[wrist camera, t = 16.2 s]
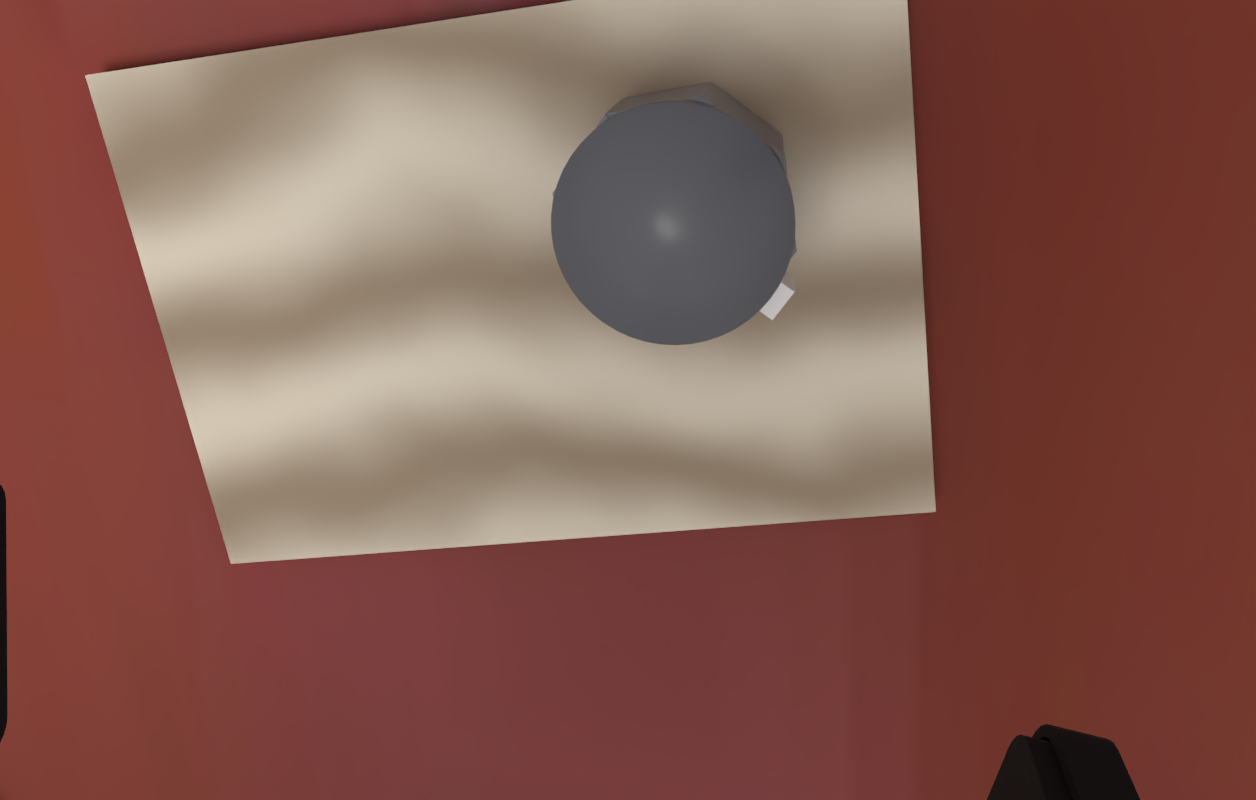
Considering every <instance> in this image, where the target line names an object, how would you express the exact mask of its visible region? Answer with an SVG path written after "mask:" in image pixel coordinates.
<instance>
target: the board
mask: <svg viewBox="0 0 1256 800" xmlns="http://www.w3.org/2000/svg"><path fill="white" fill-rule="evenodd" d="M85 77H86V80H87V83H88V87H89V90H90V93H91V97H92V100H93V103H94V107H95V110H96V113H97V117H98V120H99V123H100V127H101V130H102V133H103V137H104V140H105V144H106V147H107V150H108V154H109V157H110V160H111V164H112V167H113V170H114V174H115V177H116V180H117V184H118V187H119V190H120V194H121V197H122V200H123V204H124V207H125V211H126V214H127V217H128V221H129V224H130V227H131V231H132V234H133V237H134V241H135V244H136V247H137V251H138V254H139V257H140V261H141V264H142V267H143V271H144V274H145V278H146V281H147V284H148V288H149V291H150V294H151V298H152V301H153V304H154V308H155V311H156V314H157V318H158V321H159V324H160V328H161V331H162V334H163V338H164V341H165V345H166V348H167V351H168V355H169V358H170V361H171V365H172V368H173V371H174V375H175V378H176V381H177V385H178V388H179V391H180V395H181V398H182V401H183V405H184V408H185V412H186V415H187V418H188V422H189V425H190V428H191V432H192V435H193V438H194V442H195V445H196V448H197V452H198V455H199V458H200V462H201V465H202V468H203V472H204V475H205V478H206V482H207V485H208V489H209V492H210V495H211V499H212V502H213V505H214V509H215V512H216V515H217V519H218V522H219V525H220V529H221V532H222V535H223V539H224V542H225V545H226V549H227V552H228V556H229V559H230V562H231V564H235V563H249V562H262V561H276V560H289V559H303V558H317V557H330V556H344V555H357V554H371V553H384V552H398V551H411V550H425V549H439V548H452V547H466V546H479V545H493V544H506V543H520V542H533V541H547V540H561V539H574V538H588V537H601V536H615V535H628V534H642V533H656V532H669V531H683V530H696V529H710V528H723V527H737V526H750V525H764V524H778V523H791V522H805V521H818V520H832V519H845V518H859V517H872V516H886V515H900V514H913V513H927V512H936V507H935V489H934V471H933V453H932V435H931V417H930V399H929V381H928V363H927V345H926V327H925V309H924V291H923V273H922V255H921V237H920V219H919V201H918V183H917V165H916V147H915V129H914V112H913V94H912V76H911V58H910V40H909V22H908V4H907V0H572V1H565V2H559V3H552V4H546V5H539V6H533V7H526V8H520V9H513V10H507V11H500V12H494V13H487V14H481V15H474V16H468V17H461V18H455V19H448V20H442V21H435V22H429V23H422V24H416V25H409V26H403V27H396V28H390V29H383V30H377V31H370V32H364V33H357V34H351V35H344V36H337V37H331V38H325V39H318V40H311V41H305V42H298V43H292V44H285V45H279V46H272V47H266V48H259V49H253V50H246V51H240V52H233V53H227V54H220V55H214V56H207V57H201V58H194V59H188V60H181V61H175V62H168V63H162V64H155V65H149V66H142V67H136V68H129V69H123V70H116V71H110V72H103V73H97V74H90V75H85ZM709 82H711V83H712V84H714V85H715V86H717V87H718V88H719V89H721V90H722V91H723V92H725V93H726V94H727V95H729V96H730V97H732V98H733V99H734V100H736V101H737V102H738V103H740V104H741V105H742V106H744V107H745V108H746V109H748V110H749V111H751V112H752V113H753V114H755V115H756V116H757V117H759V118H760V119H761V120H763V121H764V122H766V123H767V124H768V125H770V126H771V127H772V128H774V129H775V130H776V131H778V132H779V133H781V134H782V136H783V144H784V151H785V158H786V166H787V173H788V181H789V184H790V187H791V191H792V196H793V201H794V209H795V224H796V226H795V237H796V248H797V252H796V253H795V254H794V255H793V257H792V258H791V259H790V262H789V265H788V268H787V271H786V272H787V273H788V274H790V275H791V276H793V277H794V289H795V292H794V294H793V295H792V296H791V297H790V299H789V300H788V301H787V302H786V304H785V305H784V306H783V307H782V309H781V310H780V311H779V313H778V314H777V315H776V316H775V318H774V319H773V320H771V319H770V318H768V317H767V316H766V315H764V314H763V313H761V312H760V311H759V312H758V313H756V314H755V315H754V316H753V317H752V318H751V319H749V320H748V321H747V322H745V323H744V324H742V325H741V326H739V327H738V328H736V329H735V330H732V331H730V332H728V333H726V334H724V335H722V336H720V337H717V338H714V339H711V340H708V341H704V342H699V343H694V344H686V345H661V344H655V343H650V342H645V341H641V340H638V339H635V338H632V337H629V336H627V335H625V334H622V333H620V332H618V331H616V330H614V329H613V328H611V327H609V326H608V325H606V324H605V323H603V322H602V321H601V320H599V319H598V318H597V317H596V316H594V315H593V314H592V313H591V312H590V311H589V310H588V309H587V308H586V307H585V306H584V305H583V304H582V303H581V302H580V301H579V299H578V298H577V297H576V295H575V294H574V293H573V292H572V290H571V289H570V287H569V285H568V283H567V282H566V280H565V278H564V276H563V274H562V272H561V269H560V267H559V265H558V262H557V259H556V255H555V251H554V248H553V241H552V234H551V211H552V203H553V195H552V193H553V192H554V190H555V189H556V186H557V183H558V181H559V178H560V176H561V173H562V171H563V169H564V167H565V165H566V164H567V162H568V160H569V158H570V156H571V155H572V154H573V153H574V151H575V150H576V149H577V147H578V146H579V145H580V143H581V142H582V141H583V140H584V139H585V138H586V137H587V136H588V135H589V134H590V133H591V132H592V131H594V130H595V128H596V127H597V125H598V124H599V122H600V121H601V119H602V118H603V116H604V115H605V113H606V112H607V111H609V110H610V109H611V108H612V107H613V106H615V105H616V104H617V103H618V102H619V101H620V100H622V99H623V98H626V97H631V96H637V95H642V94H648V93H653V92H659V91H665V90H670V89H676V88H681V87H687V86H692V85H698V84H703V83H709Z"/></svg>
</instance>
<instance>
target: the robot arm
mask: <svg viewBox="0 0 1256 800" xmlns="http://www.w3.org/2000/svg"><path fill="white" fill-rule="evenodd" d="M6 724H7V597H6V498H5V492H4V490H3V488H2V486H1V485H0V742H1V739H2V737H3V735H4V731H5V728H6ZM987 800H1140V798H1139V796H1138V794H1137V792H1136V789H1135V787H1134V785H1133V783H1132V780H1131V778H1130V776H1129V774H1128V771H1127V769H1126V767H1125V765H1124V762H1123V760H1122V758H1121V756H1120V753H1119V751H1118V749H1117V748H1116V746H1115V745H1114V743H1113V742H1112V741H1110V740H1108V739H1105V738H1101V737H1097V736H1093V735H1089V734H1085V733H1081V732H1077V731H1073V730H1069V729H1064V728H1060V727H1056V726H1052V725H1048V724H1046V725H1043V726H1040V727H1039V729H1038V730H1037V731H1036V732H1035V733H1034V735H1033V737H1028V736H1023V735H1019V736H1016V737H1015V738H1014V740H1013V741H1012V742H1011V744H1010V746H1009V748H1008V750H1007V753H1006V755H1005V758H1004V760H1003V762H1002V765H1001V767H1000V770H999V772H998V774H997V777H996V779H995V782H994V784H993V786H992V789H991V791H990V794H989V796H988V798H987Z"/></svg>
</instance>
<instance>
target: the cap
mask: <svg viewBox="0 0 1256 800" xmlns="http://www.w3.org/2000/svg"><path fill="white" fill-rule="evenodd" d="M552 195H553V203H552V211H551V234H552V241H553V248H554V251H555V255H556V259H557V262H558V265H559V267H560V269H561V272H562V274H563V276H564V278H565V280H566V282H567V283H568V285H569V287H570V289H571V290H572V292H573V293H574V294H575V295H576V297H577V298H578V299H579V301H580V302H581V303H582V304H583V305H584V306H585V307H586V308H587V309H588V310H589V311H590V312H591V313H592V314H593V315H594V316H596V317H597V318H598V319H599V320H601V321H602V322H603V323H605V324H606V325H608V326H609V327H611V328H613V329H614V330H616V331H618V332H620V333H622V334H625V335H627V336H629V337H632V338H635V339H638V340H641V341H645V342H650V343H655V344H661V345H686V344H694V343H699V342H704V341H708V340H711V339H714V338H717V337H720V336H722V335H724V334H726V333H728V332H730V331H732V330H735V329H736V328H738V327H739V326H741V325H742V324H744V323H745V322H747V321H748V320H749V319H751V318H752V317H753V316H754V315H755V314H756V313H758V312H759V311H760V312H761V313H763V314H764V315H766V316H767V317H768V318H770V319H771V320H773V319H774V318H775V316H776V315H777V314H778V313H779V311H780V310H781V309H782V307H783V306H784V305H785V304H786V302H787V301H788V300H789V299H790V297H791V296H792V295H793V294H794V292H795V289H794V277H793V276H791V275H790V274H788V273H787V272H786V271H787V268H788V265H789V262H790V259H791V258H792V257H793V255H794V254H795V253H796V252H797V248H796V237H795V226H796V224H795V209H794V201H793V196H792V191H791V187H790V184H789V181H788V173H787V166H786V158H785V151H784V144H783V136H782V134H781V133H779V132H778V131H776V130H775V129H774V128H772V127H771V126H770V125H768V124H767V123H766V122H764V121H763V120H761V119H760V118H759V117H757V116H756V115H755V114H753V113H752V112H751V111H749V110H748V109H746V108H745V107H744V106H742V105H741V104H740V103H738V102H737V101H736V100H734V99H733V98H732V97H730V96H729V95H727V94H726V93H725V92H723V91H722V90H721V89H719V88H718V87H717V86H715V85H714V84H712V83H711V82H709V83H703V84H698V85H692V86H687V87H681V88H676V89H670V90H665V91H659V92H653V93H648V94H642V95H637V96H631V97H626V98H623V99H622V100H620V101H619V102H618V103H617V104H616V105H615V106H613V107H612V108H611V109H610V110H609V111H607V112H606V113H605V115H604V116H603V118H602V119H601V121H600V122H599V124H598V125H597V127H596V128H595V130H594V131H592V132H591V133H590V134H589V135H588V136H587V137H586V138H585V139H584V140H583V141H582V142H581V143H580V145H579V146H578V147H577V149H576V150H575V151H574V153H573V154H572V155H571V156H570V158H569V160H568V162H567V164H566V165H565V167H564V169H563V171H562V173H561V176H560V178H559V181H558V183H557V186H556V189H555V190H554V192H553V193H552Z"/></svg>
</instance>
